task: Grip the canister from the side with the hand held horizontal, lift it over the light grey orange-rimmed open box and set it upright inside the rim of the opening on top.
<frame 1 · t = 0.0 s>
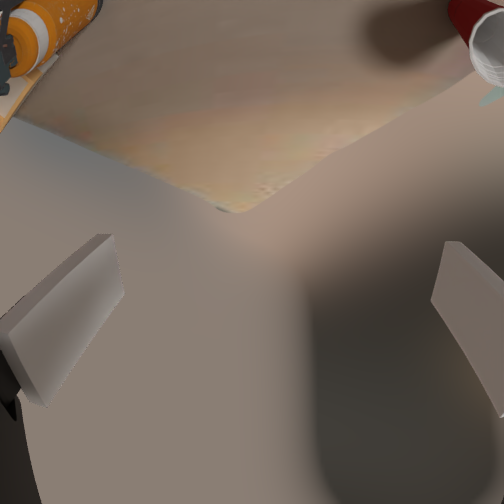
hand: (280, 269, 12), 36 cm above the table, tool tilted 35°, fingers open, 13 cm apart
plastic cup: (463, 12, 26), on the table
orange-rimmed open box: (10, 59, 33), on the table
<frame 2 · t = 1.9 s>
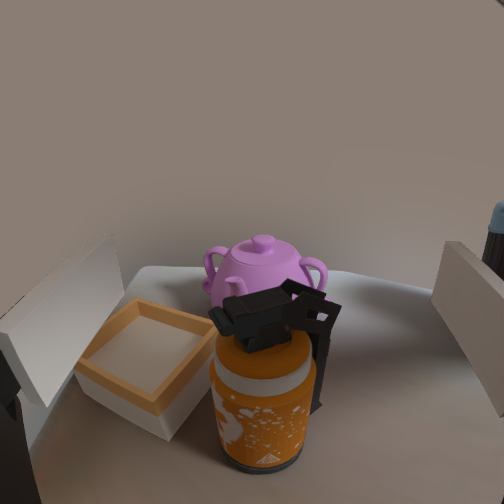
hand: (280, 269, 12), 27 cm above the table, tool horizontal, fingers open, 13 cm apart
teapot: (259, 322, 53), on the table
canister: (270, 441, 32), on the table
orange-rimmed open box: (154, 381, 40), on the table
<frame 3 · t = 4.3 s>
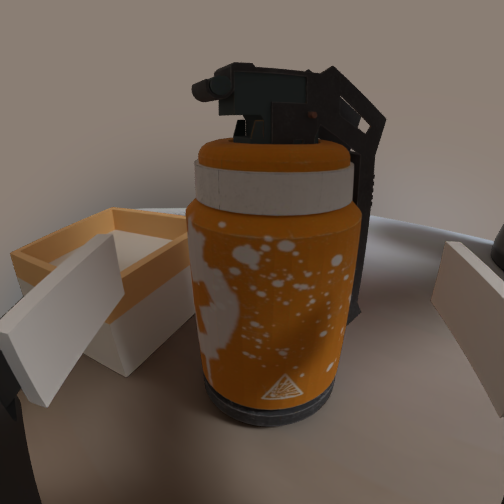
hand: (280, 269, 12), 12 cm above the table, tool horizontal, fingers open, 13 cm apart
canister: (282, 379, 22), on the table
orange-rimmed open box: (122, 306, 30), on the table
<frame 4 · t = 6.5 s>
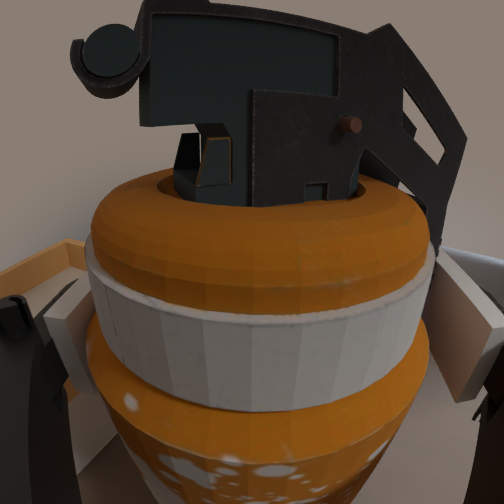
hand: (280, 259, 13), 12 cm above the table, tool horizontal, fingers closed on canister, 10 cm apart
canister: (270, 493, 14), on the table, touching gripper
orange-rimmed open box: (76, 368, 22), on the table
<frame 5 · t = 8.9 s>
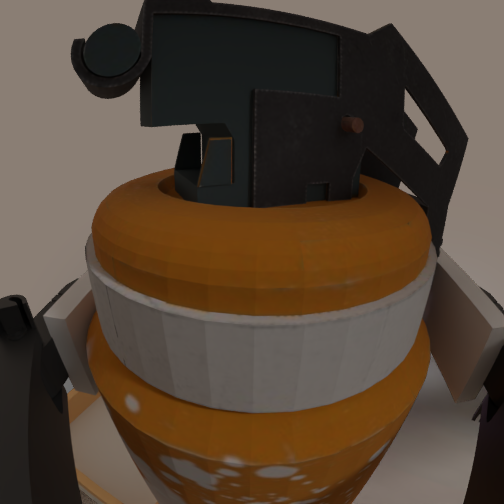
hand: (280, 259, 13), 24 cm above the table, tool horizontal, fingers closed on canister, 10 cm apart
canister: (270, 493, 14), point 12 cm above the table, touching gripper
orange-rimmed open box: (148, 462, 26), on the table
when the fingers open (18 cm above the table, at t = 11.7 s): canister drops 1 cm, resting on orange-rimmed open box.
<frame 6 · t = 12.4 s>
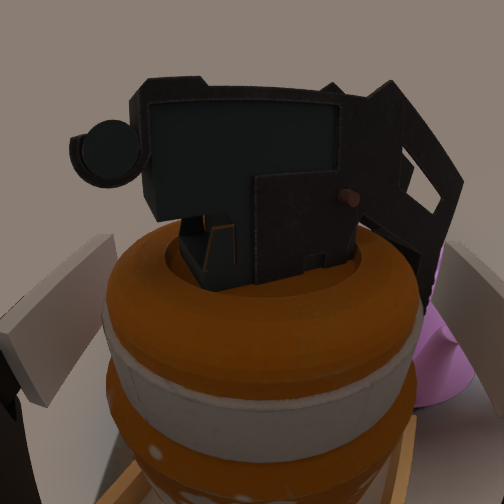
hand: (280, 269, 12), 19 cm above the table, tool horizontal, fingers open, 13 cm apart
teapot: (398, 379, 30), on the table
canister: (275, 502, 15), point 5 cm above the table, touching orange-rimmed open box
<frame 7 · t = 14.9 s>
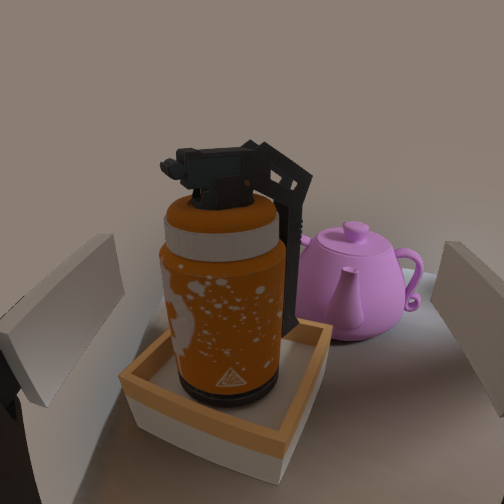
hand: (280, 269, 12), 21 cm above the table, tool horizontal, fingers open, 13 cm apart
teapot: (341, 324, 44), on the table
canister: (239, 374, 29), point 5 cm above the table, touching orange-rimmed open box
orange-rimmed open box: (236, 405, 31), on the table
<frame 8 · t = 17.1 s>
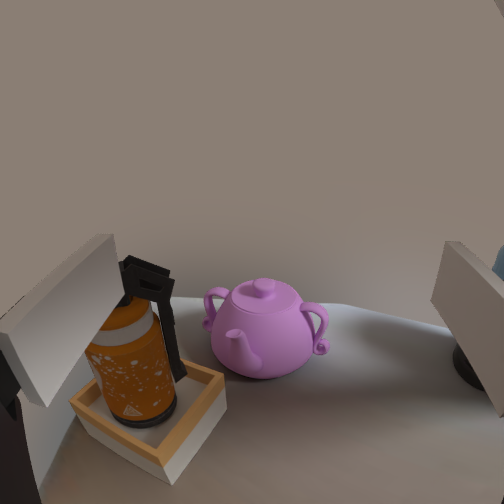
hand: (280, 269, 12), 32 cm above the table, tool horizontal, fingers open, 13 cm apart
teapot: (258, 361, 52), on the table
canister: (151, 404, 37), point 5 cm above the table, touching orange-rimmed open box
orange-rimmed open box: (156, 424, 39), on the table
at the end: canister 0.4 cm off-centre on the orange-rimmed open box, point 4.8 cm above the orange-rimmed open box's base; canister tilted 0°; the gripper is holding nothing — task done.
